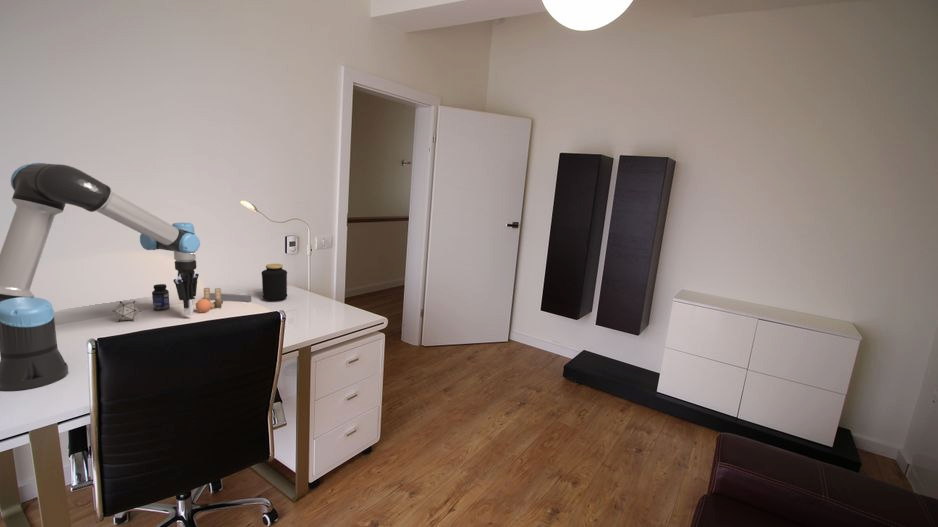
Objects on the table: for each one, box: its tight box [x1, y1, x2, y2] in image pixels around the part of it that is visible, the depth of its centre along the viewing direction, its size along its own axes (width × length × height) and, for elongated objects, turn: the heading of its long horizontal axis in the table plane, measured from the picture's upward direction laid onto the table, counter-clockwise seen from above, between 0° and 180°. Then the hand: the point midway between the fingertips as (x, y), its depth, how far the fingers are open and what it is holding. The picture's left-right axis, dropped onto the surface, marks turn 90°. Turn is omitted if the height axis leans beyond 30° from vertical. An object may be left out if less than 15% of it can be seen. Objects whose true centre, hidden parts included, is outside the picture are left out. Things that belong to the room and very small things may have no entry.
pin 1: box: [203, 287, 211, 302], centre depth 202 cm, size 2×2×9 cm
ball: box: [195, 298, 212, 313], centre depth 195 cm, size 6×6×6 cm
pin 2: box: [214, 288, 222, 309], centre depth 202 cm, size 2×2×9 cm
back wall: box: [210, 292, 252, 303], centre depth 215 cm, size 2×22×3 cm, turn 89°
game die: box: [111, 300, 142, 322], centre depth 179 cm, size 9×8×10 cm
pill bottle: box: [151, 283, 171, 312], centre depth 195 cm, size 6×6×11 cm
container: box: [261, 263, 289, 302], centre depth 219 cm, size 12×12×18 cm
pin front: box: [210, 299, 224, 310], centre depth 204 cm, size 2×2×9 cm
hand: (188, 314), depth 185 cm, fingers closed
